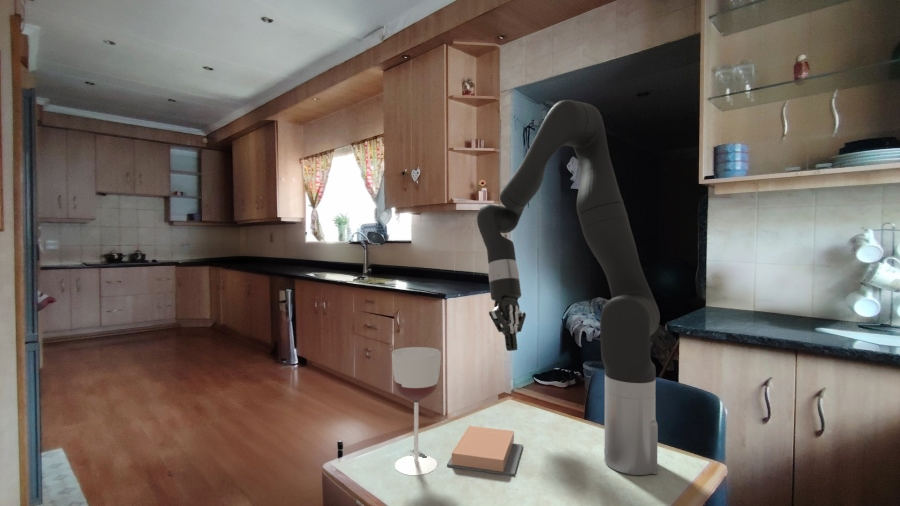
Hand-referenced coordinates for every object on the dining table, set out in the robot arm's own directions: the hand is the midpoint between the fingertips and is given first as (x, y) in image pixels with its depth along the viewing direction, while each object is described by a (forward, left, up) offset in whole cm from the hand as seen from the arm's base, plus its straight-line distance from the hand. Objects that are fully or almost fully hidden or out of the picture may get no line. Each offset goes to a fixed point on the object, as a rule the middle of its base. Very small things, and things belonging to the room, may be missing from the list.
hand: (512, 350), depth 106 cm
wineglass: (+15, +25, -18) cm, 34 cm away
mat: (+3, +18, -18) cm, 25 cm away
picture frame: (+3, +10, -16) cm, 19 cm away
